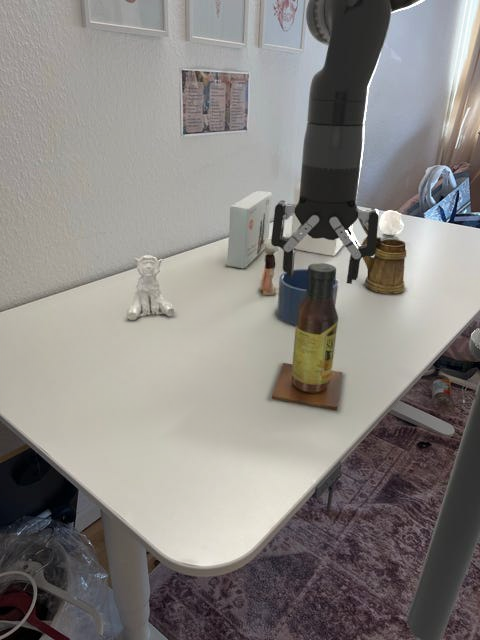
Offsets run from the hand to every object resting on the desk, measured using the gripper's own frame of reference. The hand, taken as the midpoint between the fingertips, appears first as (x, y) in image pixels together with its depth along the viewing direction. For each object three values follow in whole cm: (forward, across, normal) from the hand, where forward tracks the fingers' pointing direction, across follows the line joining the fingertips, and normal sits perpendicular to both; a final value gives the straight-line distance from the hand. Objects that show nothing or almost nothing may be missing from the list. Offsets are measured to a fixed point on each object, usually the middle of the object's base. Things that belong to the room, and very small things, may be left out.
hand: (319, 278), depth 69 cm
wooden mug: (+19, +10, +47) cm, 52 cm away
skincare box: (+19, -24, +58) cm, 66 cm away
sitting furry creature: (+19, -36, +18) cm, 45 cm away
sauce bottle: (+18, 0, 0) cm, 19 cm away
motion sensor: (+19, +14, +92) cm, 95 cm away
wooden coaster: (+19, 0, 0) cm, 19 cm away
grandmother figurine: (+19, -14, +35) cm, 42 cm away
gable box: (+19, -6, +77) cm, 80 cm away
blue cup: (+19, -4, +26) cm, 32 cm away
